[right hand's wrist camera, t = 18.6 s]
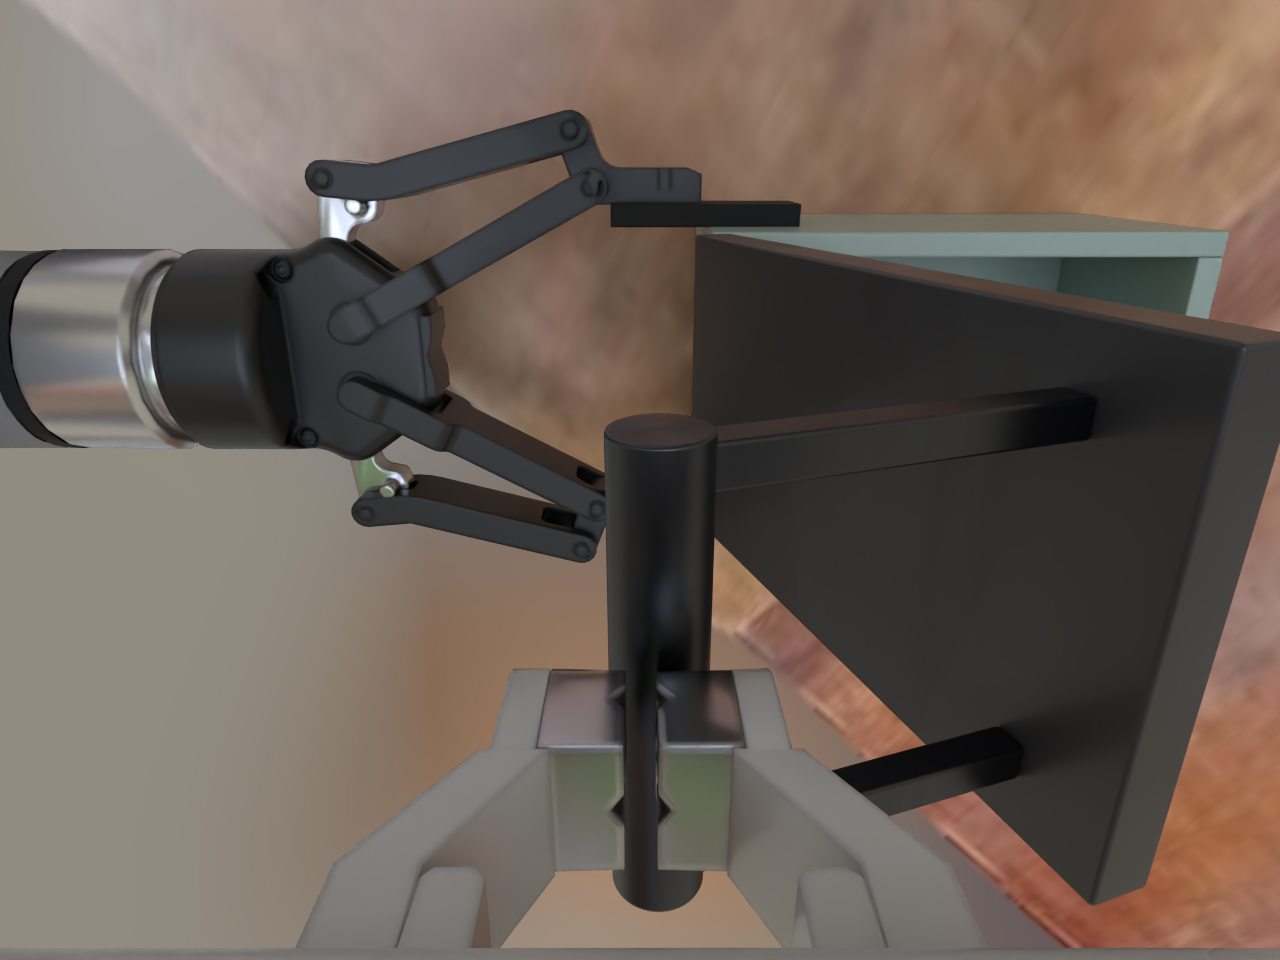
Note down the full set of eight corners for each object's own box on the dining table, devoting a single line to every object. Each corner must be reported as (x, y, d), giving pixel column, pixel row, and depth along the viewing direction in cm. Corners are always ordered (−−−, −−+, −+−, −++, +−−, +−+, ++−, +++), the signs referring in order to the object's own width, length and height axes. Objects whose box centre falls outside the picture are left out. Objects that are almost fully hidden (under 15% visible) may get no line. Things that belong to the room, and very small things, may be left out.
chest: (1080, 213, 35) (1231, 231, 26) (1040, 423, 38) (1161, 505, 29) (696, 214, 35) (711, 232, 26) (691, 422, 38) (703, 503, 29)
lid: (1315, 336, 10) (674, 402, 8) (1148, 888, 14) (665, 1069, 11) (731, 233, 25) (446, 242, 23) (721, 508, 29) (472, 545, 26)
